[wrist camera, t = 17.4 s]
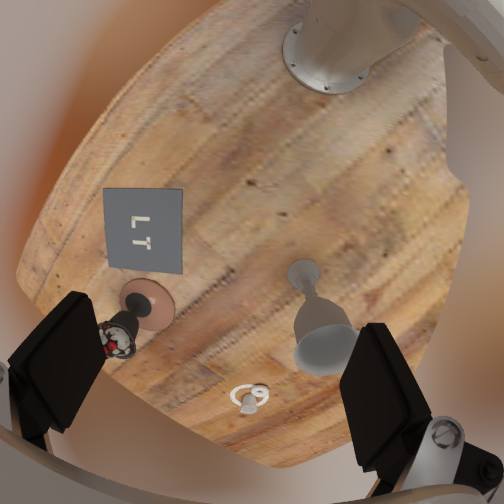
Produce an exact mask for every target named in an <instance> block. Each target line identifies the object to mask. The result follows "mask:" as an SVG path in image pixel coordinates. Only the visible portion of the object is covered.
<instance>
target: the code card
mask: <svg viewBox="0 0 504 504" xmlns="http://www.w3.org/2000/svg"><path fill="white" fill-rule="evenodd" d="M182 193H183V190H179V189H142V188H103V203H104V221H105V234H106V245H107V255H108V263H109V267H115V268H124V269H133V270H142V271H152V272H162V273H172V274H182Z"/></svg>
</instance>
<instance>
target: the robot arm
mask: <svg viewBox="0 0 504 504" xmlns="http://www.w3.org/2000/svg"><path fill="white" fill-rule="evenodd" d="M421 18H422V19H423V20H424V21H426V22H427V23H428V24H429V25H431V26H433V27H434V28H435V29H436V30H437V31H439V32H440V33H441V34H442V35H443V36H444V37H445V38H446V39H447V40H448V41H449V42H450V43H452V44H453V45H454V46H455V47H456V48H457V49H458V50H459V51H460V52H461V53H462V54H463V55H464V57H465V58H467V60H468V61H469V62H470V63H471V64H472V65H473V66H474V67H475V68H476V69H477V70H478V72H479V73H480V74H481V75H482V76H483V77H484V78H485V79H486V80H487V82H488V83H489V84H490V85H491V86H492V87H493V88H495V89H496V90H497V91H498V92H500V93H501V94H503V95H504V0H312V3H311V5H310V7H309V10H308V12H307V15H306V17H305V20H303V21H301V22H299V23H297V24H295V25H294V26H293V27H292V28H291V29H290V30H289V31H288V33H287V34H286V37H285V39H284V42H283V49H282V53H283V59H284V62H285V64H286V67H287V68H288V70H289V71H290V73H291V74H292V75H293V76H294V78H295V79H296V80H297V81H299V82H300V83H301V84H302V85H304V86H306V87H307V88H309V89H311V90H313V91H316V92H318V93H323V94H327V95H340V94H345V93H348V92H351V91H353V90H355V89H357V88H358V87H359V86H361V85H362V84H363V83H364V82H365V80H366V79H367V77H368V75H369V71H370V67H371V65H373V64H374V63H376V62H377V61H379V60H381V59H382V58H384V57H385V56H387V55H389V54H390V53H392V52H394V51H395V50H397V49H399V48H401V47H402V46H404V45H406V44H407V43H408V42H410V41H411V40H412V39H413V37H414V36H415V35H416V33H417V31H418V29H419V26H420V23H421ZM294 33H296V34H294ZM291 65H294V67H291ZM358 77H359V78H360V79H359V78H358ZM324 87H326V88H327V90H325V89H324ZM105 360H106V353H105V350H104V347H103V343H102V340H101V336H100V333H99V329H98V325H97V321H96V317H95V313H94V309H93V305H92V301H91V299H90V298H88V295H87V294H85V293H81V292H76V291H71V292H70V293H69V294H68V295H67V296H66V297H65V298H64V299H63V300H62V301H61V302H60V303H59V304H58V305H57V306H56V307H55V308H54V309H53V310H52V311H51V312H50V313H49V314H48V315H47V316H46V317H45V318H44V319H43V320H42V321H41V322H40V324H39V325H38V326H37V327H36V328H35V329H34V330H33V331H32V332H31V333H30V335H29V336H28V337H27V338H26V339H25V340H24V341H23V342H22V344H21V345H20V346H19V347H18V348H17V349H16V351H15V352H14V353H13V354H12V355H11V357H10V358H9V359H8V363H9V364H10V367H9V369H7V367H6V365H5V364H4V363H2V362H0V504H208V503H201V502H195V501H189V500H183V499H178V498H173V497H168V496H164V495H160V494H155V493H151V492H148V491H144V490H140V489H137V488H133V487H130V486H127V485H124V484H121V483H117V482H115V481H112V480H109V479H106V478H103V477H101V476H98V475H96V474H93V473H91V472H88V471H86V470H83V469H81V468H78V467H76V466H74V465H72V464H70V463H68V462H65V461H64V460H62V459H59V458H58V457H56V456H54V454H53V450H52V447H51V444H50V439H49V435H48V429H49V427H51V428H52V429H54V430H55V431H58V432H60V433H62V434H63V433H64V431H65V429H66V428H69V427H70V425H71V424H72V422H73V419H74V418H75V416H76V414H77V412H78V410H79V408H80V406H81V404H82V402H83V400H84V399H85V397H86V395H87V393H88V391H89V389H90V387H91V386H92V384H93V382H94V380H95V379H96V377H97V375H98V373H99V372H100V370H101V368H102V366H103V365H104V363H105ZM340 392H341V396H342V400H343V404H344V408H345V412H346V416H347V420H348V424H349V429H350V433H351V437H352V442H353V446H354V450H355V455H356V460H357V463H358V465H359V466H362V468H363V472H364V473H365V472H371V471H377V475H378V479H377V480H376V482H375V484H374V486H373V487H372V488H371V490H370V492H369V493H368V495H367V496H366V498H365V499H360V500H355V501H348V502H341V503H333V504H504V475H503V474H504V468H503V464H502V462H501V460H500V459H499V458H498V457H497V456H496V455H494V454H491V453H489V452H487V451H485V450H482V449H480V448H478V447H476V446H474V445H471V444H469V443H467V442H465V440H464V439H465V434H464V430H463V428H462V426H461V425H460V424H459V422H457V420H455V419H453V418H451V417H448V416H438V417H436V418H434V419H433V418H432V416H431V411H430V408H429V406H428V404H427V402H426V400H425V398H424V396H423V394H422V392H421V390H420V388H419V386H418V384H417V382H416V380H415V378H414V376H413V374H412V372H411V370H410V368H409V366H408V364H407V362H406V360H405V359H404V357H403V355H402V353H401V351H400V349H399V347H398V346H397V344H396V342H395V340H394V338H393V337H392V335H391V333H390V331H389V330H388V328H387V326H386V325H385V323H368V324H367V325H366V327H362V328H361V330H360V333H359V336H358V338H357V341H356V344H355V346H354V349H353V351H352V354H351V356H350V359H349V361H348V363H347V366H346V368H345V370H344V373H343V375H342V377H341V380H340Z"/></svg>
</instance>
